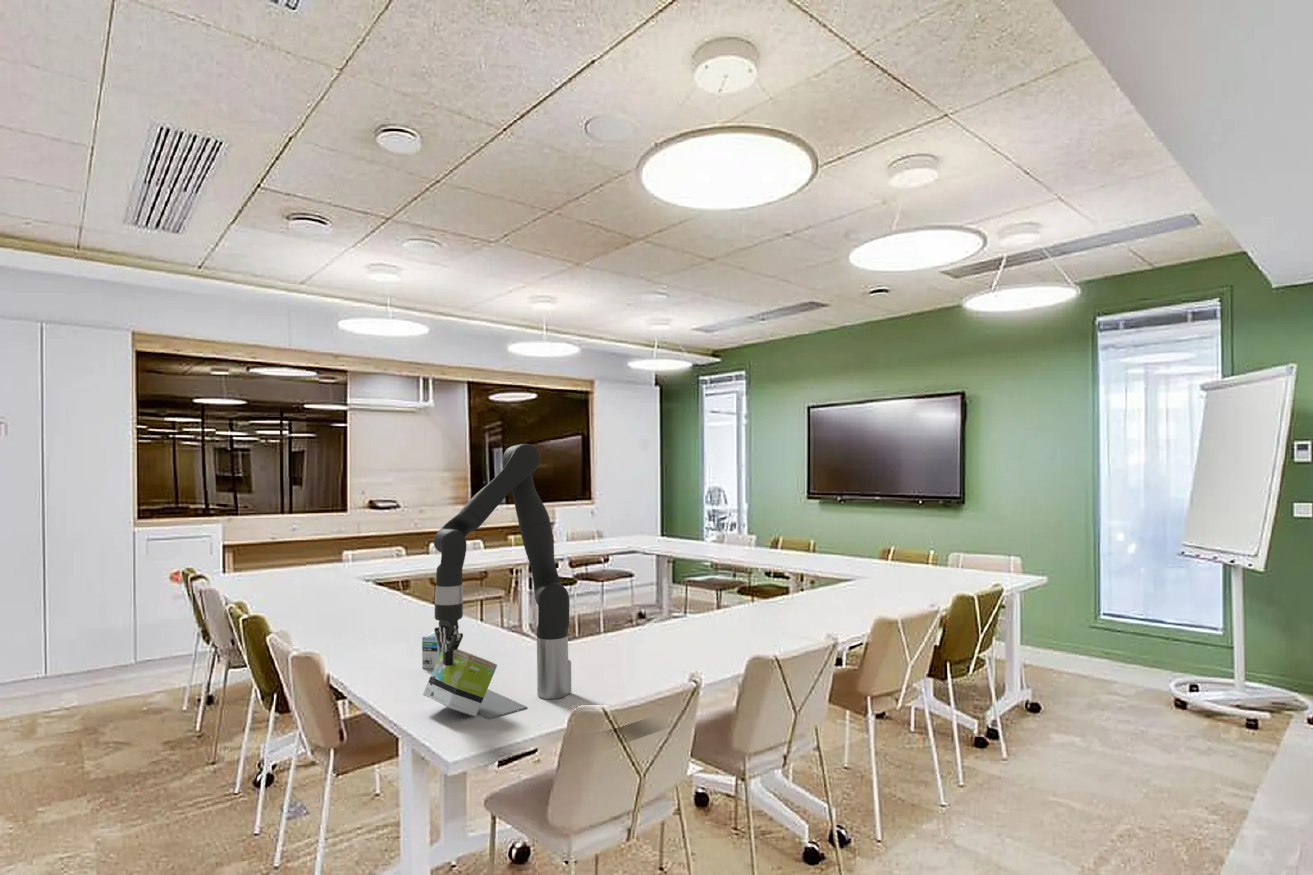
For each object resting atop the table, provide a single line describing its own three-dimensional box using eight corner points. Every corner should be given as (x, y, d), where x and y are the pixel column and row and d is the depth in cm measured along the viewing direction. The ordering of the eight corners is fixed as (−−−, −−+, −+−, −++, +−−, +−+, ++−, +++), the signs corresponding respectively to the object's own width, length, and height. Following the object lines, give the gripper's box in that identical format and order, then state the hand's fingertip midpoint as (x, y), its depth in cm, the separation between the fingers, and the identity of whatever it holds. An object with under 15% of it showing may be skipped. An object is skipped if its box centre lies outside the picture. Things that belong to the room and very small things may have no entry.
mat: (488, 690, 220) (488, 689, 220) (527, 708, 204) (527, 706, 204) (451, 700, 212) (451, 698, 212) (489, 719, 196) (489, 717, 196)
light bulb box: (439, 669, 244) (439, 637, 244) (421, 668, 245) (421, 636, 245) (454, 660, 254) (454, 629, 254) (437, 660, 255) (436, 629, 256)
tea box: (420, 695, 202) (444, 643, 207) (449, 704, 208) (471, 654, 213) (447, 707, 191) (471, 652, 197) (477, 717, 197) (499, 664, 203)
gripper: (472, 603, 198) (471, 667, 197) (450, 596, 208) (449, 657, 207) (447, 606, 193) (446, 672, 192) (425, 599, 203) (424, 662, 202)
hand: (447, 664), depth 200 cm, fingers closed
